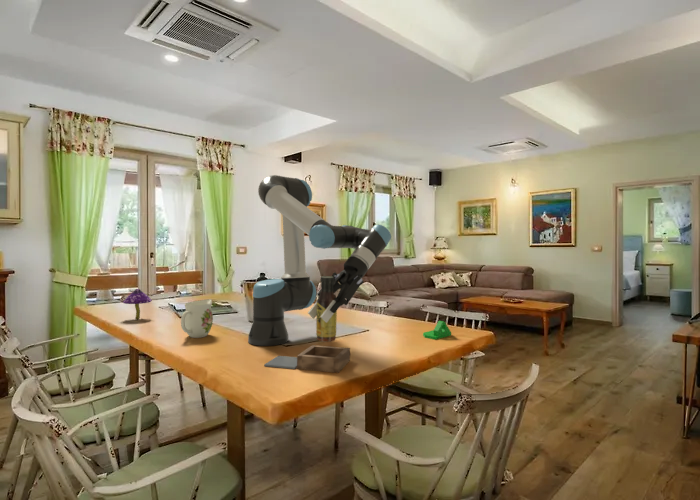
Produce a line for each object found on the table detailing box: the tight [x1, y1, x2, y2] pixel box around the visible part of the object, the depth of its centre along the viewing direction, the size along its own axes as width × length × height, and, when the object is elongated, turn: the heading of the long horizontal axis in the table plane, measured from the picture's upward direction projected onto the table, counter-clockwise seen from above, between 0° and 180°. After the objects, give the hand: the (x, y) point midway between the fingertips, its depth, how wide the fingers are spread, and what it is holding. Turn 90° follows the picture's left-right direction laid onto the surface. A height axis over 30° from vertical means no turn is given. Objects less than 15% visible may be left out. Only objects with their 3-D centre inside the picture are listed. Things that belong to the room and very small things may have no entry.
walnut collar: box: [296, 344, 351, 374], centre depth 126 cm, size 13×13×4 cm
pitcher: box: [180, 298, 214, 339], centre depth 162 cm, size 11×18×14 cm, turn 164°
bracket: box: [422, 320, 452, 341], centre depth 167 cm, size 12×8×7 cm, turn 134°
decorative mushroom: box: [122, 288, 152, 320], centre depth 195 cm, size 12×12×15 cm
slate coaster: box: [264, 355, 297, 370], centre depth 127 cm, size 10×10×1 cm
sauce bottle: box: [315, 275, 338, 343], centre depth 125 cm, size 6×6×20 cm
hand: (317, 317), depth 123 cm, fingers closed on sauce bottle, 6 cm apart
